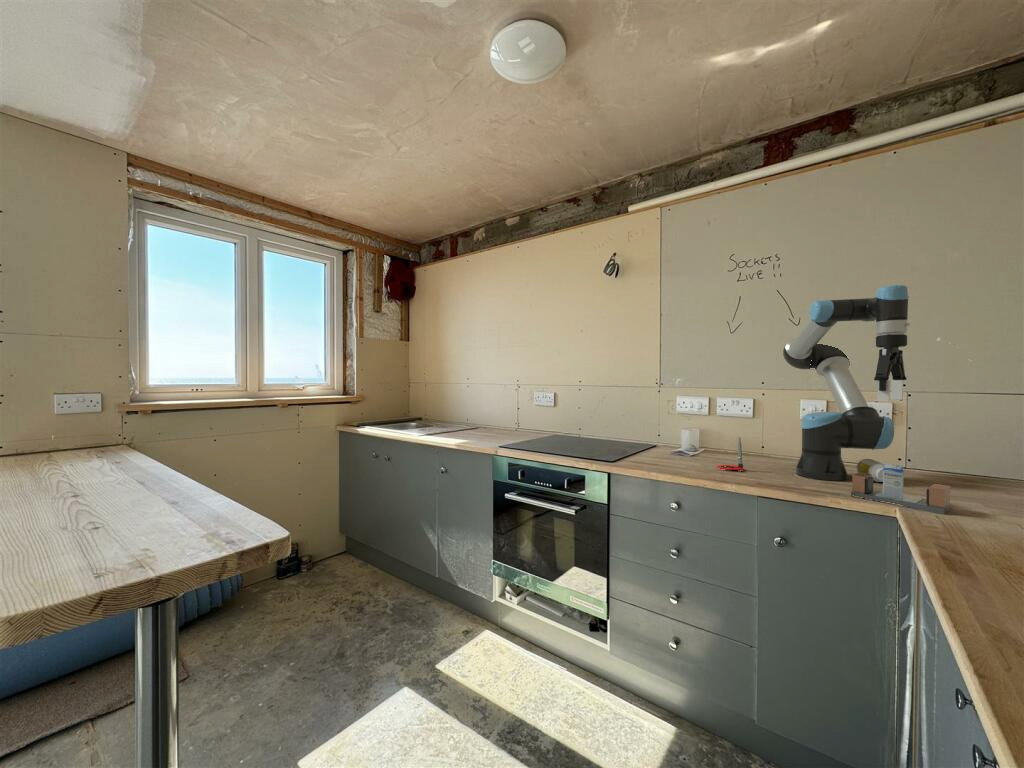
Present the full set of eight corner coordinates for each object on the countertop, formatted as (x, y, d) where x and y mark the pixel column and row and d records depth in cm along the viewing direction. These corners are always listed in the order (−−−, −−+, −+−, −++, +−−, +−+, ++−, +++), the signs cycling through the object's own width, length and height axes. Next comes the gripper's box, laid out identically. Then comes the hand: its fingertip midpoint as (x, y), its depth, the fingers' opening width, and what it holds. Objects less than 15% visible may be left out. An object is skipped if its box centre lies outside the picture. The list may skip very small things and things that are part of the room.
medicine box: (882, 491, 128) (883, 463, 127) (903, 494, 125) (903, 465, 125) (882, 497, 122) (882, 467, 122) (903, 500, 119) (903, 469, 119)
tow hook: (716, 471, 165) (743, 472, 160) (714, 438, 165) (741, 438, 160) (717, 467, 172) (743, 468, 167) (716, 435, 172) (741, 436, 168)
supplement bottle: (862, 479, 154) (880, 488, 142) (852, 463, 155) (869, 470, 143) (882, 471, 152) (902, 480, 140) (871, 455, 153) (890, 462, 141)
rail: (850, 496, 128) (851, 475, 128) (860, 492, 133) (860, 471, 133) (943, 514, 112) (943, 490, 112) (950, 508, 116) (951, 485, 116)
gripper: (894, 331, 125) (893, 402, 126) (918, 335, 139) (917, 399, 140) (862, 333, 131) (861, 401, 132) (888, 337, 145) (887, 398, 146)
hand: (890, 400), depth 136 cm, fingers open, 13 cm apart
